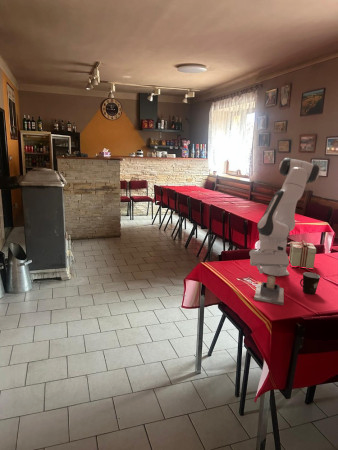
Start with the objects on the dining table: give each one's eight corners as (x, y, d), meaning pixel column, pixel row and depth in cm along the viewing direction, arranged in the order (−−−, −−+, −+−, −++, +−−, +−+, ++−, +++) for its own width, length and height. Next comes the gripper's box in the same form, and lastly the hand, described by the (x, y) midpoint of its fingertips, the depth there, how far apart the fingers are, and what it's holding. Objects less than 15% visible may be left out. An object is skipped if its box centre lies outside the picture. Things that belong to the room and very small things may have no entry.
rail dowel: (265, 290, 177) (267, 275, 176) (273, 291, 176) (275, 276, 175) (265, 293, 174) (267, 277, 172) (273, 294, 173) (275, 279, 171)
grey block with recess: (257, 286, 187) (258, 277, 186) (283, 290, 183) (284, 282, 182) (254, 299, 168) (255, 290, 167) (283, 305, 164) (284, 295, 163)
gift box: (282, 260, 239) (285, 237, 236) (309, 263, 237) (313, 240, 233) (286, 268, 223) (290, 243, 219) (315, 271, 220) (319, 246, 217)
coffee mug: (312, 289, 187) (315, 272, 185) (320, 296, 179) (323, 278, 177) (292, 288, 187) (295, 271, 185) (299, 295, 178) (301, 277, 176)
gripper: (249, 246, 183) (250, 269, 176) (288, 248, 181) (291, 271, 173) (248, 252, 189) (249, 274, 181) (286, 253, 186) (288, 276, 178)
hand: (270, 273), depth 177 cm, fingers open, 8 cm apart
